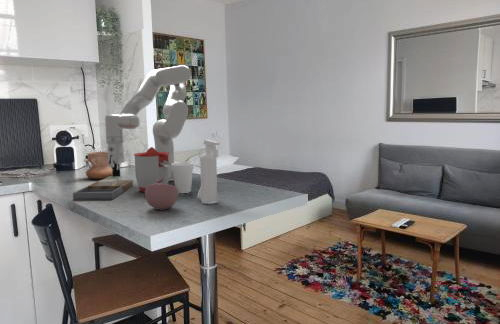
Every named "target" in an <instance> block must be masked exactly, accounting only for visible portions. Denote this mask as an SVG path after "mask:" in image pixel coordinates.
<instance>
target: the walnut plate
mask: <svg viewBox="0 0 500 324" xmlns="http://www.w3.org/2000/svg"><path fill="white" fill-rule="evenodd" d="M101 180H102V179H98V180H97V181H95V182H93V183H91V184H89V185H87V186H86V187H88V189H117V188H119V187H120V186H122V189H123V193H122V194H124V193H125V192H127V191H128V190H129V189H131V188H133V187H134V180H133V179H129V180H127V179H122V181H120V182H118V183H117V184H115V185H113V186H99V181H101Z"/></svg>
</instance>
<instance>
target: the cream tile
mask: <svg viewBox="0 0 500 324" xmlns="http://www.w3.org/2000/svg"><path fill="white" fill-rule="evenodd" d="M100 180H101V181H99V180H98V181H99V186H113V185H115V184H117V179H100Z"/></svg>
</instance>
